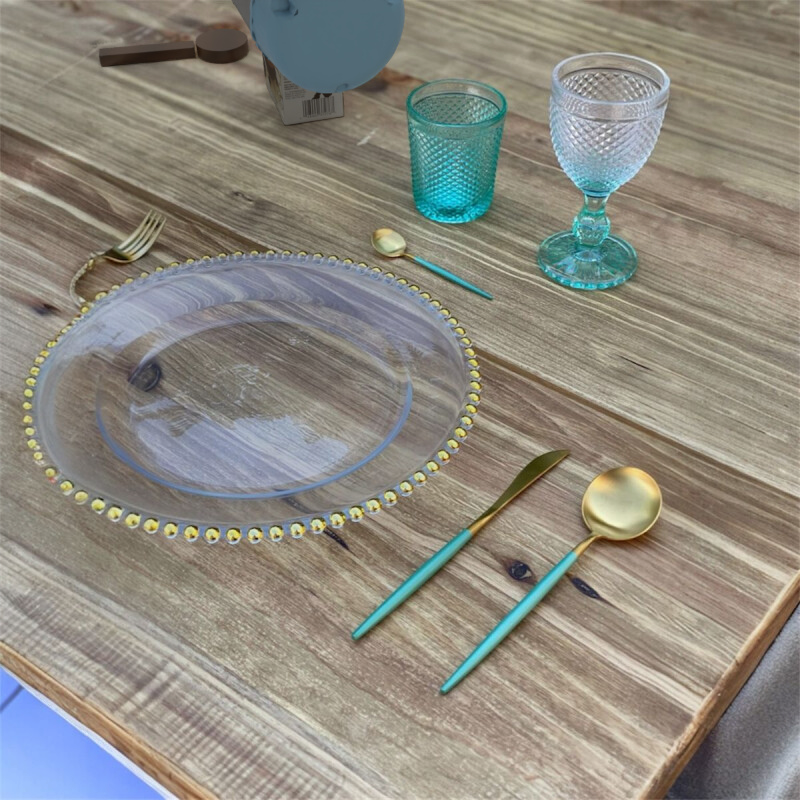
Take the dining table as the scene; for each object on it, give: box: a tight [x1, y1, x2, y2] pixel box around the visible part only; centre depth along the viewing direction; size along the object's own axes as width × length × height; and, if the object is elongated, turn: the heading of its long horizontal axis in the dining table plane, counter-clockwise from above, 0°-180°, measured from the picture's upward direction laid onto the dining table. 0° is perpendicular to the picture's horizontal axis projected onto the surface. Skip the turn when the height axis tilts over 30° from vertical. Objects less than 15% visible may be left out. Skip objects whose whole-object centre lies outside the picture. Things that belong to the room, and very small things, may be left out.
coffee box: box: [261, 53, 345, 126], centre depth 88 cm, size 9×6×16 cm
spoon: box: [98, 28, 250, 67], centre depth 101 cm, size 16×6×1 cm, turn 102°
